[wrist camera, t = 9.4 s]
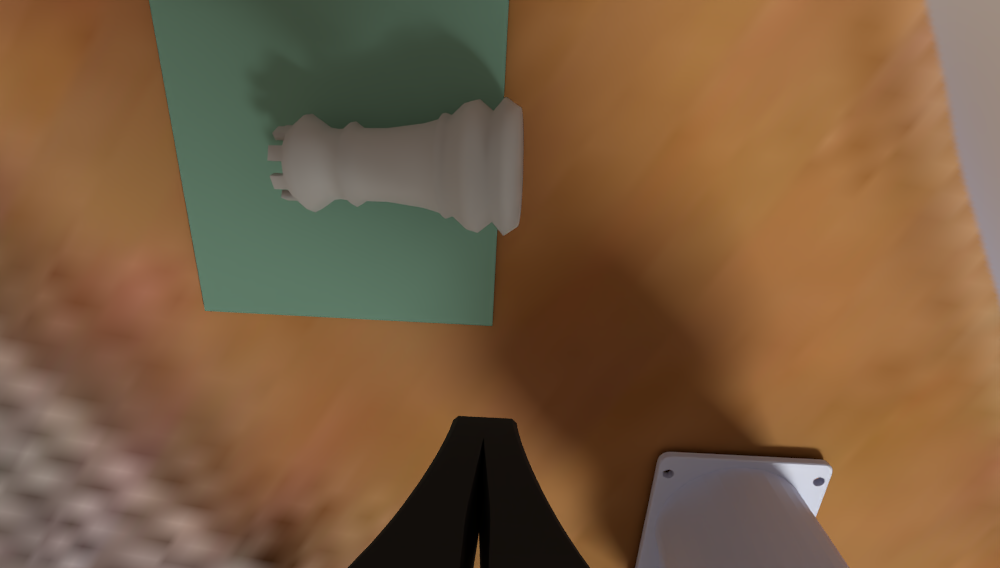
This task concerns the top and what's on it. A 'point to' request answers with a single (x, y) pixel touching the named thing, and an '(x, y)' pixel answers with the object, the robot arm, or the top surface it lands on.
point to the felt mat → (336, 101)
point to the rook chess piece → (411, 164)
